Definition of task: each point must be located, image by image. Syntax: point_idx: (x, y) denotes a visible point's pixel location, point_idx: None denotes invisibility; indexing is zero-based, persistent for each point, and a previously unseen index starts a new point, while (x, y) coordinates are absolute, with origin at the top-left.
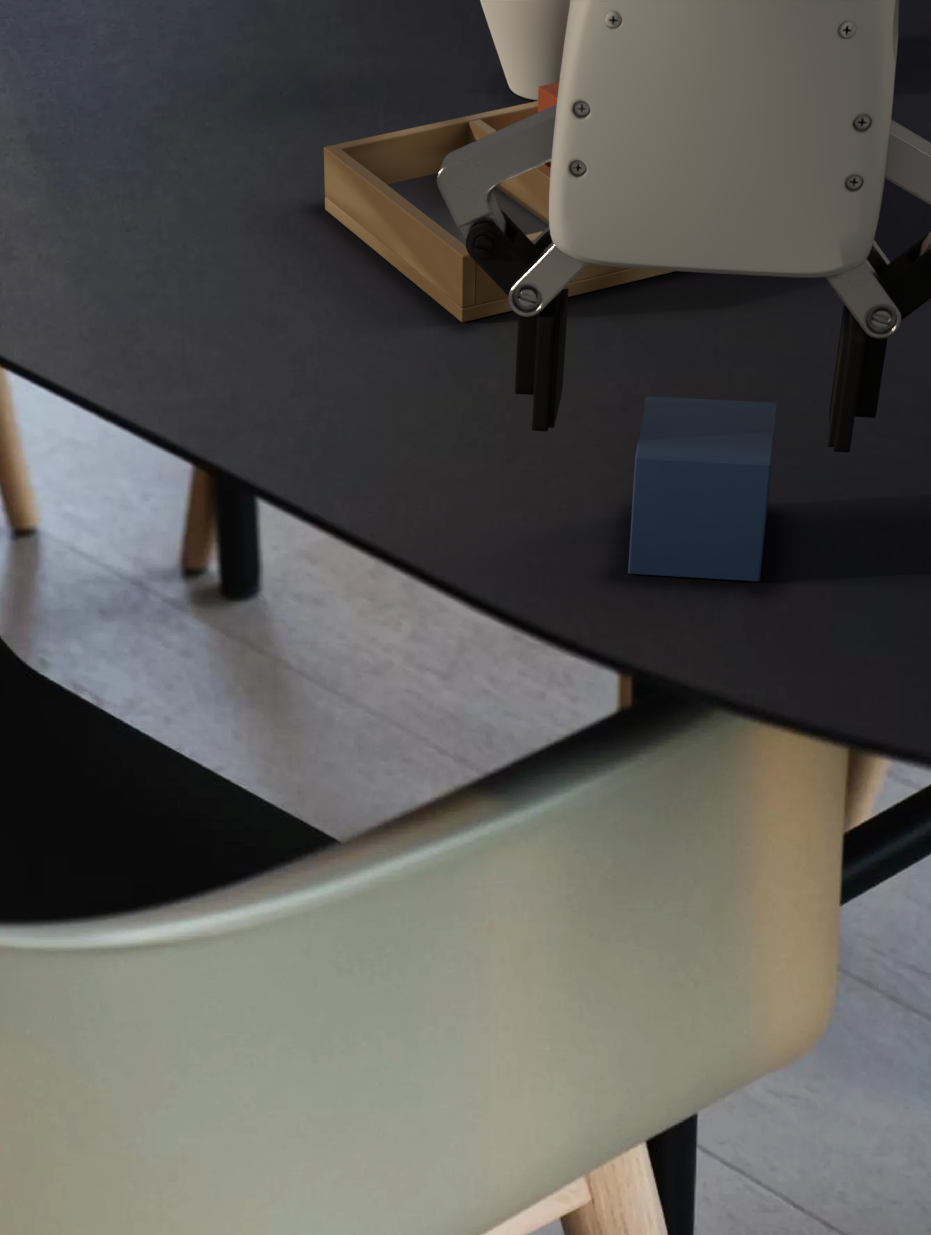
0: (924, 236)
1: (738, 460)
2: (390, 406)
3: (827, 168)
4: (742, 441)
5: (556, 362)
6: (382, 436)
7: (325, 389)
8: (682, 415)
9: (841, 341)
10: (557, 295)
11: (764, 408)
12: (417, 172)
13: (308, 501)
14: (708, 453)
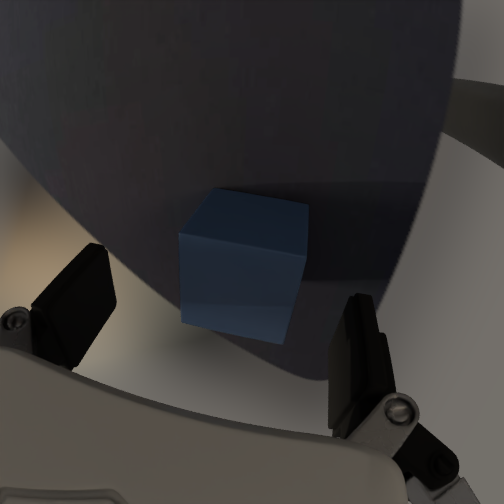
0: (430, 480)
1: (258, 339)
2: (50, 49)
3: None
4: (264, 316)
5: (90, 344)
6: (49, 91)
7: (21, 40)
8: (213, 270)
9: (334, 413)
10: (55, 363)
11: (292, 267)
12: None
13: (35, 175)
14: (235, 327)
